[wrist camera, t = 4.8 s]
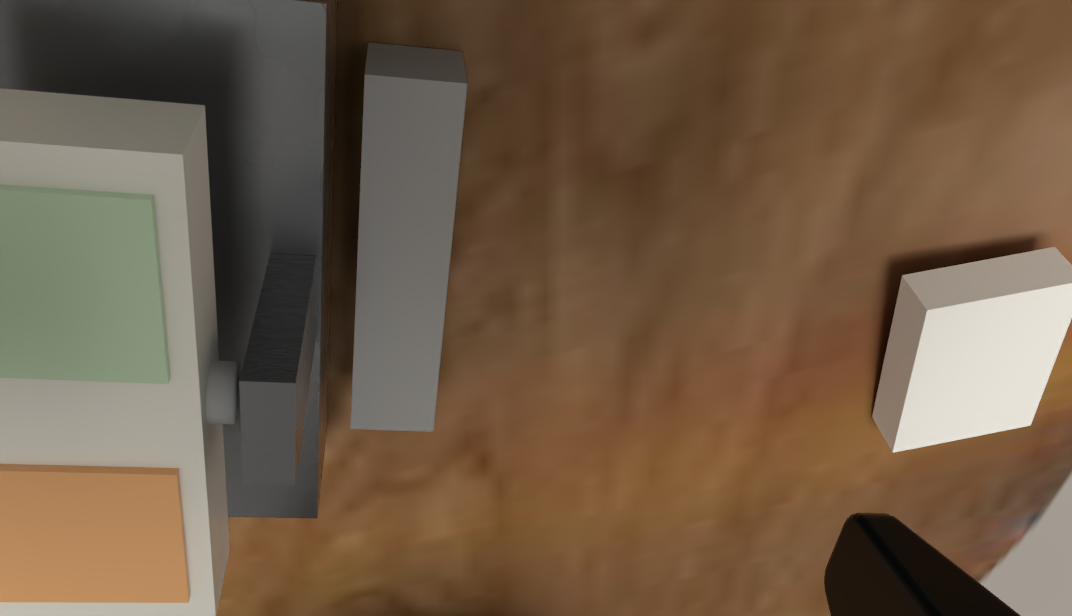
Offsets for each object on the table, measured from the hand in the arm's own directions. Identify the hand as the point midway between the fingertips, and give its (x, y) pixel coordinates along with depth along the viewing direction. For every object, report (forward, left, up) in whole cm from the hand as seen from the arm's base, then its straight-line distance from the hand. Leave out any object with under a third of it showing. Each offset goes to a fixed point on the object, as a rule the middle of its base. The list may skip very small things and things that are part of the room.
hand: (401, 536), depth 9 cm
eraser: (-3, -11, -12) cm, 16 cm away
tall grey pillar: (-3, 0, -12) cm, 12 cm away
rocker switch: (-3, +5, -6) cm, 8 cm away
